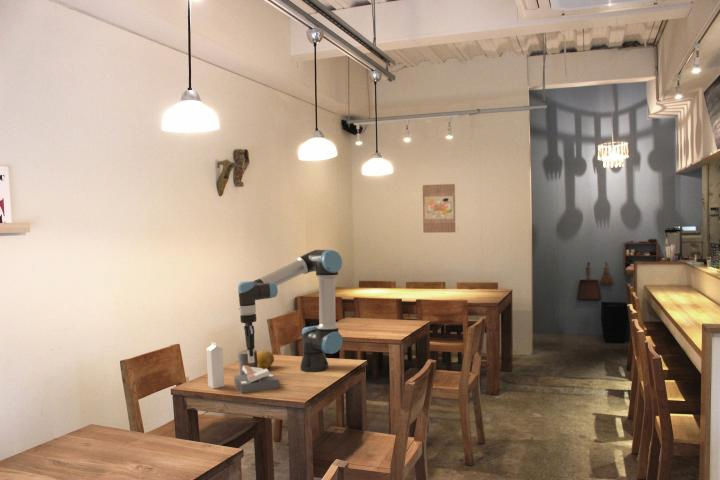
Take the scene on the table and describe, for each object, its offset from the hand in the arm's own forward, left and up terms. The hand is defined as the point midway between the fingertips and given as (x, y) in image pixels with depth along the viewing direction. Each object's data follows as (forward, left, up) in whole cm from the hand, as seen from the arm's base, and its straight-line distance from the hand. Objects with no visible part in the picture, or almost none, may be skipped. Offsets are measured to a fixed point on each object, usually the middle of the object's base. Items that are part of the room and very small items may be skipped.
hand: (251, 362), depth 288 cm
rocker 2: (-3, -6, -7) cm, 10 cm away
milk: (+15, -16, -14) cm, 26 cm away
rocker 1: (-3, -12, -7) cm, 14 cm away
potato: (-15, -40, -14) cm, 45 cm away
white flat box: (-3, 0, -7) cm, 7 cm away
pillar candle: (-3, -25, -14) cm, 29 cm away
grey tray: (-3, -6, -13) cm, 15 cm away
